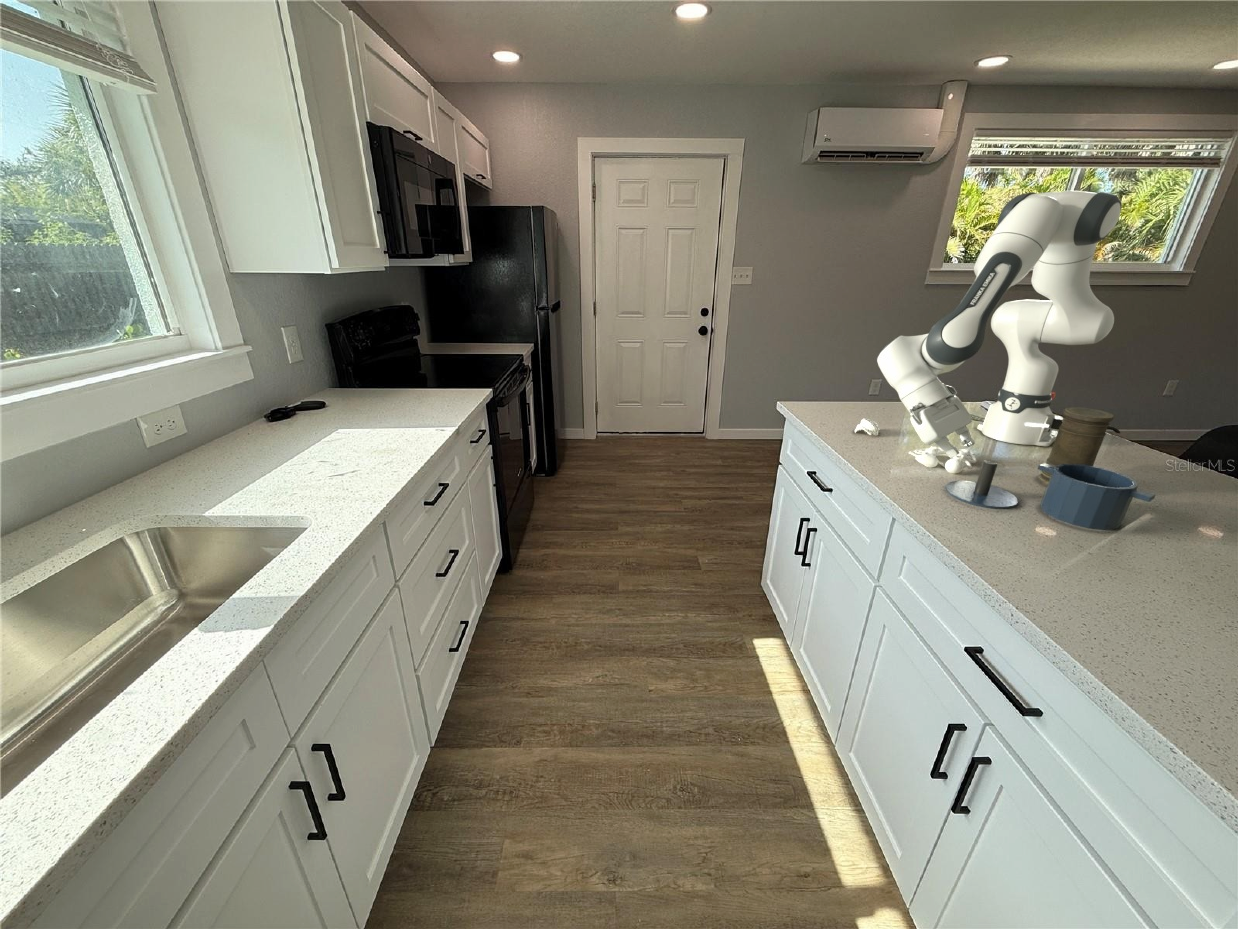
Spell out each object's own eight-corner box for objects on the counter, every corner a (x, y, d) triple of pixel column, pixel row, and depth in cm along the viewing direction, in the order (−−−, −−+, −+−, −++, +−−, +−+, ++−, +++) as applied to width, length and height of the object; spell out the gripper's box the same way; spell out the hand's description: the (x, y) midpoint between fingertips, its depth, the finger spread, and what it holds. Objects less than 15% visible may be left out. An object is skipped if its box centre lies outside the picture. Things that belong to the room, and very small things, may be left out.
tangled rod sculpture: (927, 449, 141) (929, 436, 140) (987, 460, 130) (990, 445, 129) (899, 465, 129) (902, 450, 128) (963, 478, 119) (966, 462, 117)
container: (1096, 494, 112) (1127, 419, 105) (1051, 491, 113) (1079, 416, 106) (1071, 478, 120) (1098, 407, 113) (1029, 475, 121) (1054, 405, 114)
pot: (1041, 493, 112) (1056, 455, 108) (1147, 528, 98) (1167, 485, 94) (1014, 506, 107) (1028, 466, 103) (1121, 544, 92) (1141, 500, 89)
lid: (964, 480, 119) (974, 447, 116) (1028, 502, 108) (1041, 466, 105) (932, 492, 113) (941, 458, 110) (996, 517, 102) (1009, 479, 99)
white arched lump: (856, 430, 156) (857, 415, 155) (879, 432, 153) (881, 416, 151) (853, 436, 150) (854, 420, 148) (878, 437, 146) (879, 421, 145)
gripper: (920, 400, 106) (959, 455, 102) (956, 385, 117) (992, 434, 114) (894, 415, 111) (931, 468, 107) (931, 400, 122) (965, 447, 119)
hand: (963, 450), depth 111 cm, fingers open, 8 cm apart
